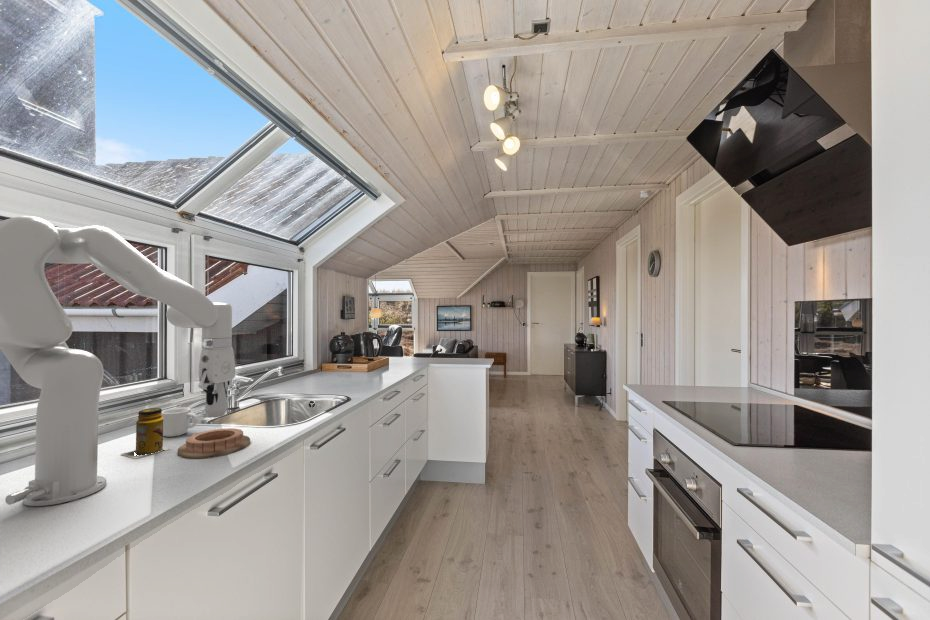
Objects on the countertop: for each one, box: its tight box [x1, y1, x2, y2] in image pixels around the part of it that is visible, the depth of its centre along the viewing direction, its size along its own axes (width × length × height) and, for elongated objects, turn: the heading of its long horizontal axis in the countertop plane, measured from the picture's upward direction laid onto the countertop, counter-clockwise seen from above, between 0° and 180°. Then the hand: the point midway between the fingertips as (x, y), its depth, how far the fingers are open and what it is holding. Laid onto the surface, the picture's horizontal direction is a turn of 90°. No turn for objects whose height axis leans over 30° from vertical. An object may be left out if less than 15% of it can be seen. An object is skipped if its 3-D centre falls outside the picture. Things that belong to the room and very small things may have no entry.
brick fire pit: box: [177, 427, 251, 460], centre depth 113 cm, size 18×18×4 cm
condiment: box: [120, 407, 169, 460], centre depth 109 cm, size 7×8×12 cm
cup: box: [162, 407, 199, 438], centre depth 125 cm, size 11×8×8 cm
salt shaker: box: [204, 382, 229, 419], centre depth 113 cm, size 6×6×13 cm
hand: (216, 404), depth 113 cm, fingers closed on salt shaker, 3 cm apart
